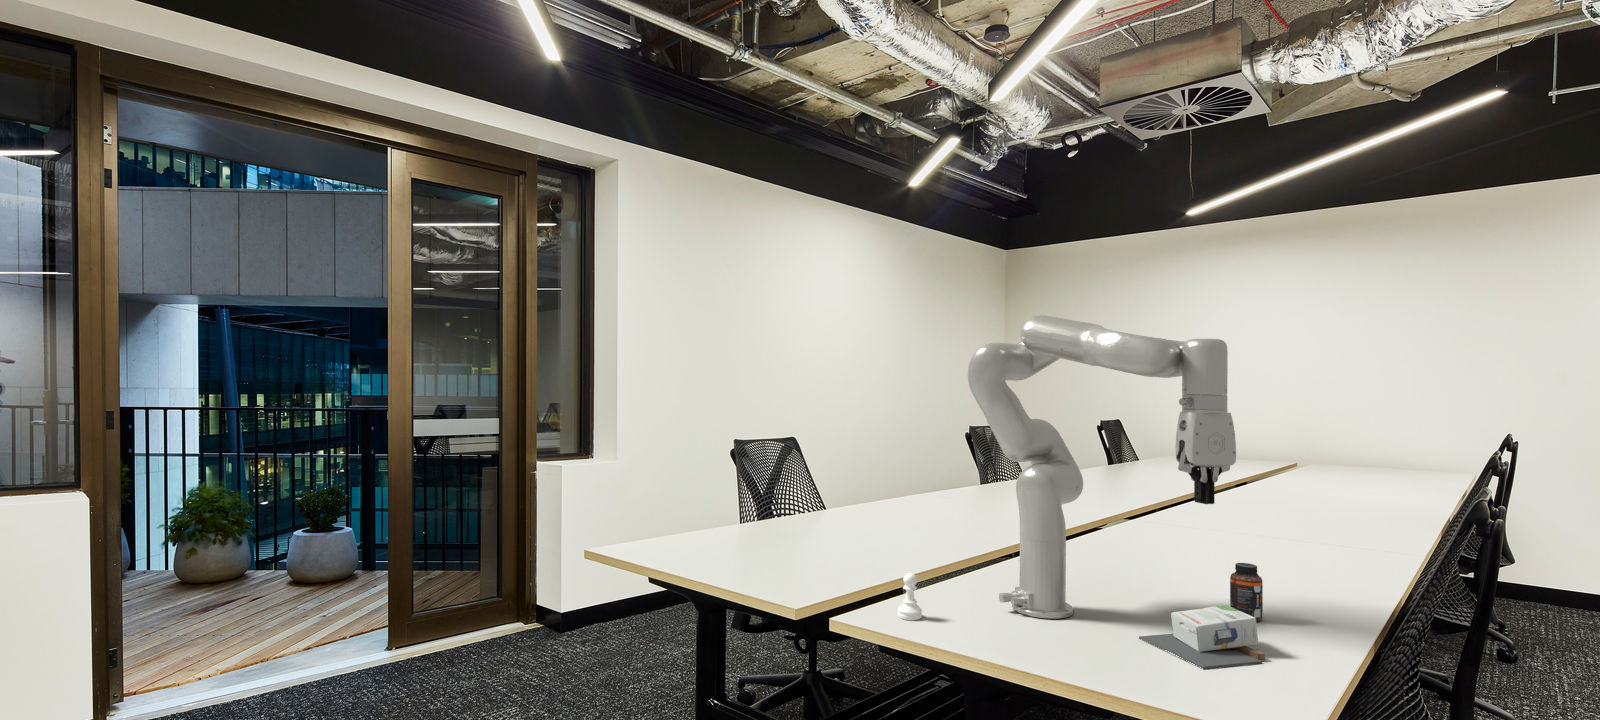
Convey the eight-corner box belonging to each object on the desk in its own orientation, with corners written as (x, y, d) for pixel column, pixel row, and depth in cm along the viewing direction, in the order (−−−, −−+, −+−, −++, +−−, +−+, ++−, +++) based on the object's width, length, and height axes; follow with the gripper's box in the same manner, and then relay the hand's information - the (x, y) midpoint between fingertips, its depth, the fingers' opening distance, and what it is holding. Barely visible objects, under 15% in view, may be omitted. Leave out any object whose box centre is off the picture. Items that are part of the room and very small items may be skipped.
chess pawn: (910, 611, 160) (911, 569, 161) (926, 618, 156) (927, 574, 156) (892, 615, 158) (893, 572, 158) (908, 622, 153) (909, 577, 154)
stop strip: (1258, 661, 135) (1258, 654, 135) (1197, 635, 148) (1197, 629, 148) (1264, 660, 135) (1264, 653, 135) (1203, 635, 148) (1203, 628, 149)
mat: (1203, 669, 130) (1203, 666, 130) (1138, 638, 146) (1138, 636, 146) (1261, 663, 134) (1261, 661, 134) (1192, 633, 149) (1192, 631, 149)
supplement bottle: (1267, 623, 156) (1267, 568, 157) (1236, 621, 157) (1236, 567, 158) (1256, 615, 162) (1256, 562, 162) (1225, 613, 163) (1225, 560, 164)
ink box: (1257, 617, 138) (1196, 624, 137) (1259, 646, 138) (1199, 652, 137) (1226, 603, 147) (1169, 609, 146) (1228, 630, 147) (1171, 636, 146)
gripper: (1186, 405, 136) (1186, 507, 135) (1253, 405, 140) (1253, 505, 139) (1156, 403, 143) (1156, 500, 143) (1221, 404, 147) (1221, 499, 147)
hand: (1204, 502), depth 141 cm, fingers closed
